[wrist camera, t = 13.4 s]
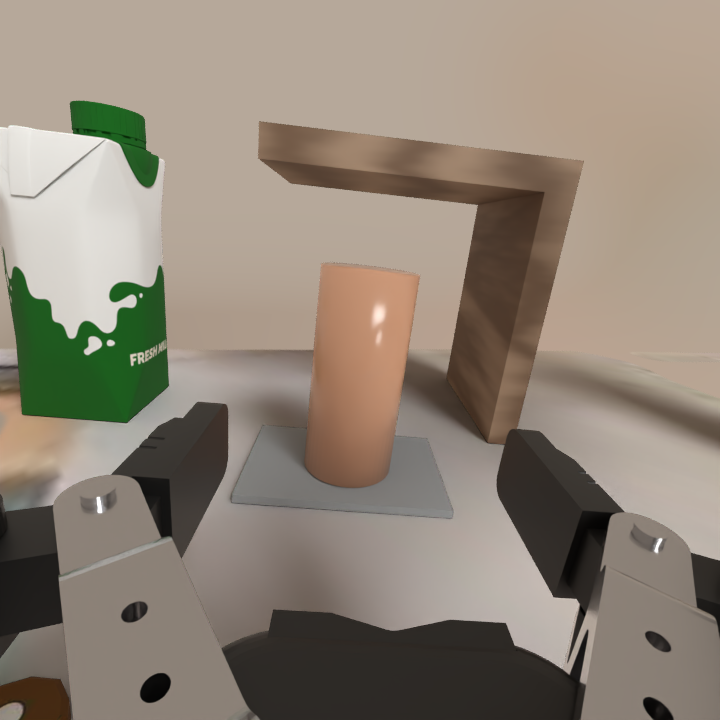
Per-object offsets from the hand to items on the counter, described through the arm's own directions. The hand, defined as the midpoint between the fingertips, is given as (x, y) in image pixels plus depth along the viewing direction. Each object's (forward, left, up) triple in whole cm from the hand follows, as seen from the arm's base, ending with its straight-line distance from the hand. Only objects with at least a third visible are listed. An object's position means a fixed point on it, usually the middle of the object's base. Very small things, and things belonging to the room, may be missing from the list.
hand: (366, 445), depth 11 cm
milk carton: (+19, -19, -9) cm, 28 cm away
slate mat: (0, -12, -9) cm, 15 cm away
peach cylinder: (0, -12, -8) cm, 15 cm away
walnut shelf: (-3, -24, -9) cm, 26 cm away
